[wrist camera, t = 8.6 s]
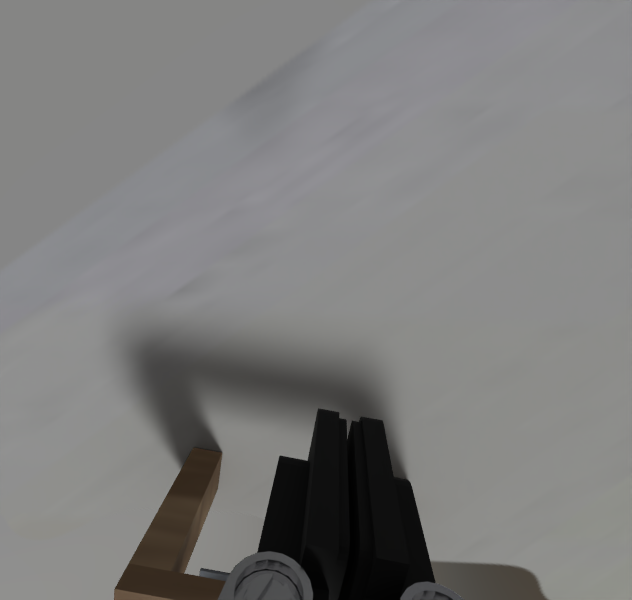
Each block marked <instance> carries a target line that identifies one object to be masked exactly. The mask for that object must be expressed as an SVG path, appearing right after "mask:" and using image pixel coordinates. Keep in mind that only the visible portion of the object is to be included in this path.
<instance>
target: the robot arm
mask: <svg viewBox="0 0 632 600" xmlns="http://www.w3.org/2000/svg"><path fill="white" fill-rule="evenodd" d="M218 600H464V599H463V598H462V597H460V596H459V595H458V594H456V593H455V592H454V591H453V590H451V589H448V588H446V587H444V586H442V585H440V584H436V583H435V579H434V575H433V571H432V567H431V563H430V559H429V554H428V550H427V546H426V542H425V538H424V534H423V530H422V526H421V522H420V518H419V514H418V510H417V506H416V502H415V498H414V494H413V489H412V486H411V483H410V482H409V481H408V480H405V479H400V478H395V477H394V476H393V471H392V466H391V461H390V455H389V450H388V445H387V440H386V434H385V429H384V424H383V421H382V420H377V419H371V418H366V417H361V418H360V420H359V422H356V421H352V423H351V426H350V431H349V435H348V439H347V421H346V419H340V418H339V412H334V411H329V410H324V409H318V412H317V417H316V422H315V427H314V432H313V437H312V442H311V447H310V452H309V457H308V461H305V460H300V459H295V458H290V457H284V456H280V457H279V461H278V465H277V469H276V474H275V478H274V482H273V487H272V491H271V495H270V500H269V504H268V508H267V513H266V517H265V521H264V526H263V530H262V535H261V539H260V543H259V548H258V552H257V553H255V554H253V555H251V556H248V557H246V558H244V559H243V560H242V561H241V562H240V563H238V564H237V565H236V566H235V567H234V569H233V570H232V572H231V573H230V575H229V576H228V578H227V580H226V582H225V585H224V587H223V589H222V591H221V593H220V595H219V598H218Z"/></svg>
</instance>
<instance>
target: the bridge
mask: <svg viewBox="0 0 632 600" xmlns="http://www.w3.org/2000/svg"><path fill="white" fill-rule="evenodd" d="M221 459H222V453H221V452H215V451H210V450H204V449H199V448H193V449H192V451H191V453H190V455H189V456H188V458H187V460H186V462H185V464H184V465H183V467H182V469H181V471H180V473H179V474H178V476H177V478H176V480H175V481H174V483H173V485H172V487H171V489H170V490H169V492H168V494H167V496H166V498H165V499H164V501H163V503H162V505H161V507H160V508H159V510H158V512H157V514H156V516H155V517H154V519H153V521H152V523H151V525H150V527H149V528H148V530H147V532H146V534H145V535H144V537H143V539H142V541H141V542H140V544H139V546H138V548H137V550H136V552H135V554H134V555H133V557H132V559H131V560H130V562H129V564H128V566H127V568H126V569H125V571H124V573H123V575H122V577H121V579H120V580H119V582H118V584H117V586H116V587H115V592H114V600H218V598H219V595H220V593H221V591H222V589H223V587H224V585H225V582H226V581H222V580H217V579H211V578H206V577H200V576H195V575H189V574H184V572H185V570H186V567H187V564H188V562H189V560H190V557H191V555H192V552H193V550H194V547H195V544H196V542H197V540H198V537H199V534H200V532H201V530H202V527H203V524H204V522H205V519H206V517H207V514H208V512H209V509H210V507H211V504H212V502H213V499H214V497H215V494H216V492H217V489H218V483H219V475H220V467H221Z"/></svg>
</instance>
